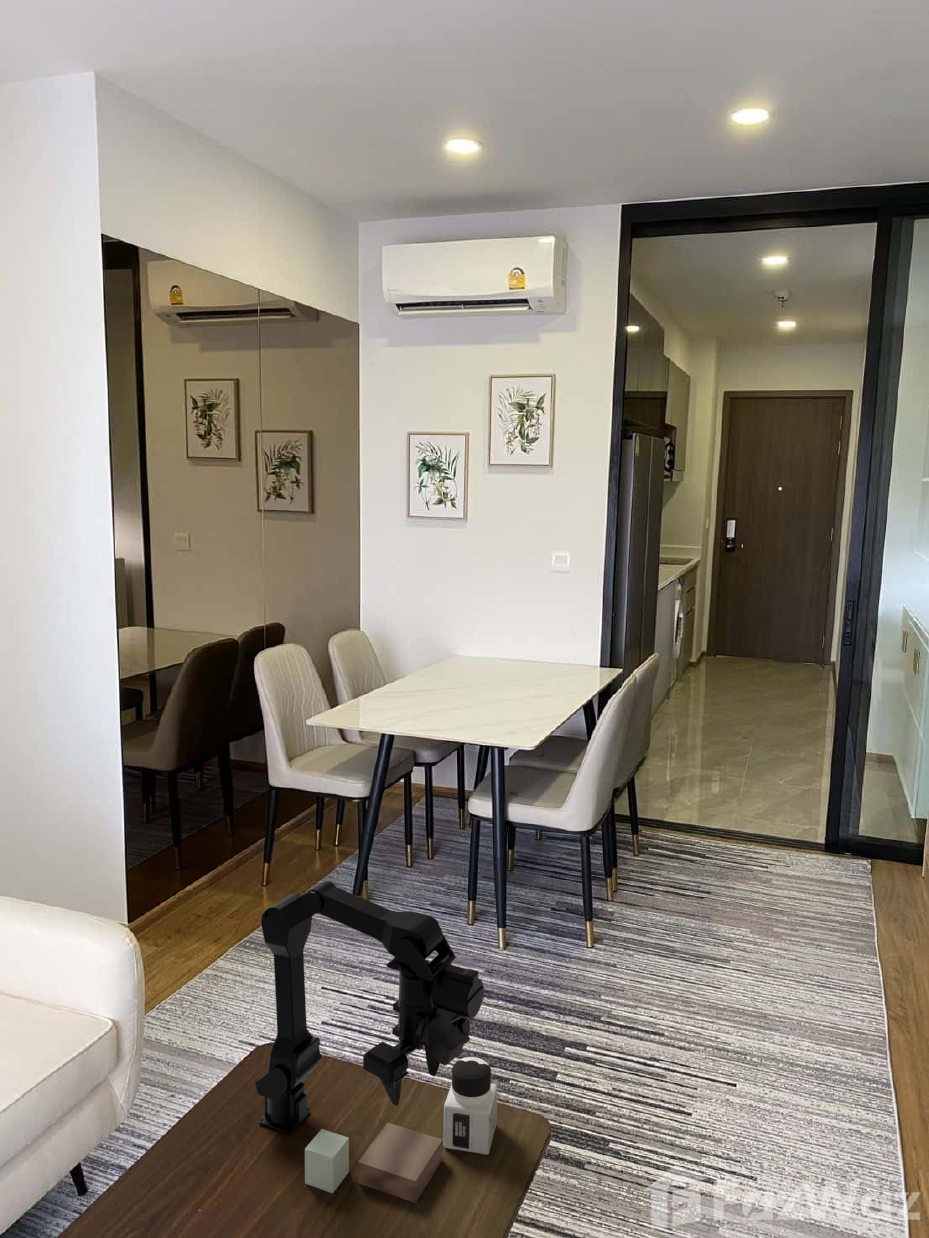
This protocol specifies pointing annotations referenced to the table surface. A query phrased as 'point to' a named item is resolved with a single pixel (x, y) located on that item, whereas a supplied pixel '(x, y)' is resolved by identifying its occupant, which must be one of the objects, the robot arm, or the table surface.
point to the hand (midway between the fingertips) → (414, 1089)
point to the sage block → (326, 1160)
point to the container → (470, 1107)
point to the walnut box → (400, 1162)
